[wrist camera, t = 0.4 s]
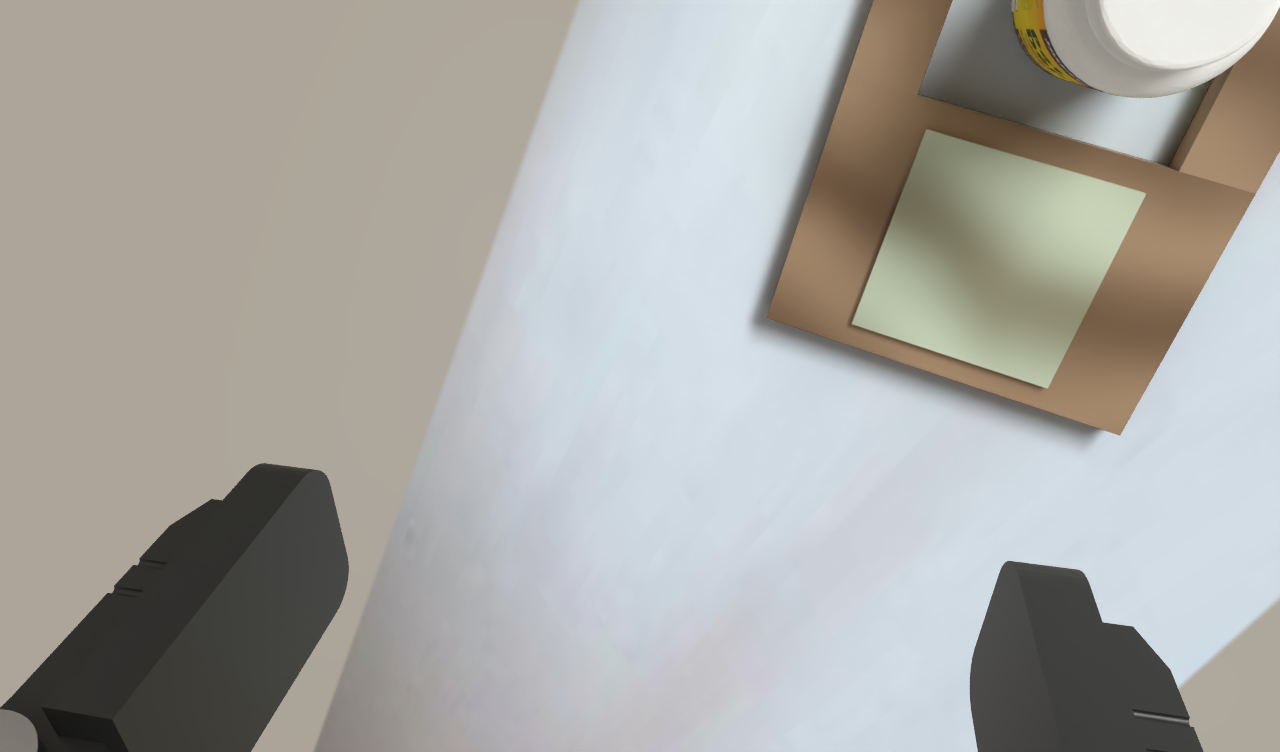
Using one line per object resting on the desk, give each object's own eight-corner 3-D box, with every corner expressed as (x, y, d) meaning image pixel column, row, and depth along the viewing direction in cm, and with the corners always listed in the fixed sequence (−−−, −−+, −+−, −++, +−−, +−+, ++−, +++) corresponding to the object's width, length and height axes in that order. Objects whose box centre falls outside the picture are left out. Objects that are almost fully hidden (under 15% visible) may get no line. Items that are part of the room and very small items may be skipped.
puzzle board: (963, -264, 28) (967, -279, 26) (1433, -157, 26) (1463, -168, 24) (770, 308, 36) (765, 319, 35) (1112, 422, 34) (1121, 438, 33)
